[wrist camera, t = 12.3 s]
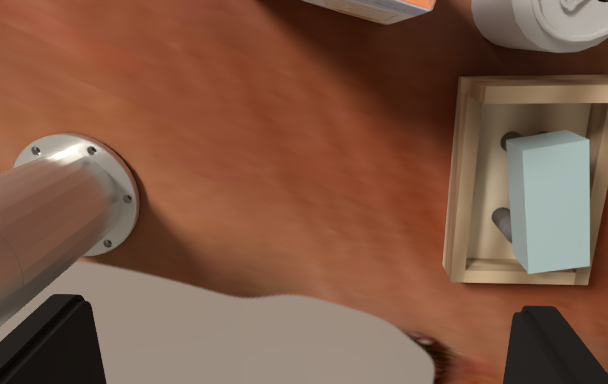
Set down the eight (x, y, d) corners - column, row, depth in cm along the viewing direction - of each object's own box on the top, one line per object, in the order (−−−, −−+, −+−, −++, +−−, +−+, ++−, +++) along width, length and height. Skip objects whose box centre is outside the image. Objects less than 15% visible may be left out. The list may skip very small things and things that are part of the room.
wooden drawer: (442, 264, 46) (462, 309, 38) (458, 76, 40) (486, 86, 32) (569, 266, 45) (615, 313, 37) (605, 74, 39) (668, 84, 31)
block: (505, 139, 36) (522, 150, 33) (566, 129, 36) (589, 139, 32) (512, 253, 39) (528, 274, 36) (568, 246, 39) (589, 266, 35)
